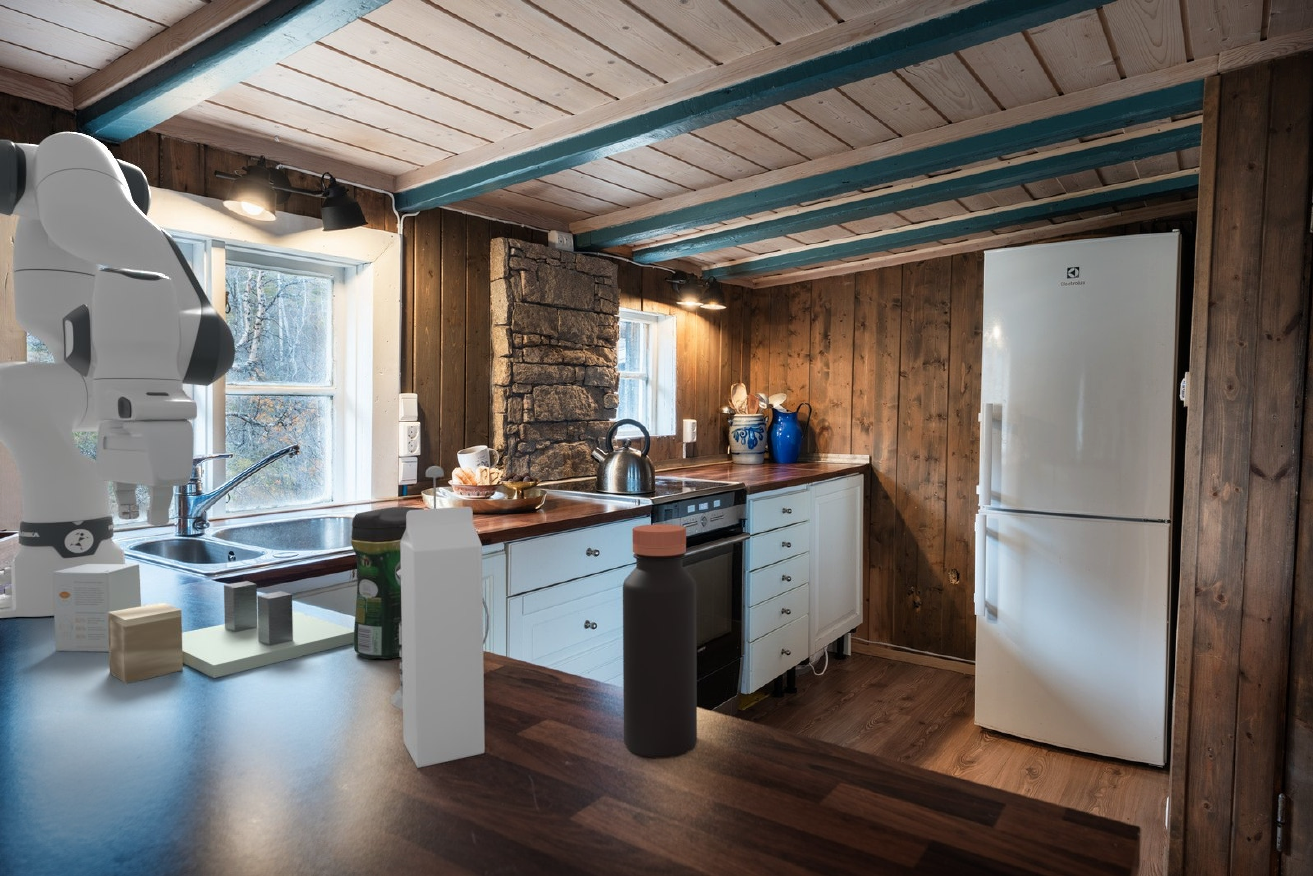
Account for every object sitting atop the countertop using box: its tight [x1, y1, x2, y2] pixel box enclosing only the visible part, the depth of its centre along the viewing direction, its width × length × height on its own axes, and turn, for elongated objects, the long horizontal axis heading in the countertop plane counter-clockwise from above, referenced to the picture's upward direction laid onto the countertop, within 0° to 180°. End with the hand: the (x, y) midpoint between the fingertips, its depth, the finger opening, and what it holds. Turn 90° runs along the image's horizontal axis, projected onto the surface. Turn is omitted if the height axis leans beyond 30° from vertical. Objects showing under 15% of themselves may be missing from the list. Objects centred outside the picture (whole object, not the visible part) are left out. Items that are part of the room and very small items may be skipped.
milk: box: [400, 506, 485, 769], centre depth 70 cm, size 6×6×22 cm
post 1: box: [223, 580, 258, 632], centre depth 105 cm, size 3×3×8 cm
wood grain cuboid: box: [108, 602, 184, 684], centre depth 92 cm, size 6×6×7 cm
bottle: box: [622, 523, 698, 759], centre depth 71 cm, size 7×7×20 cm
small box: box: [52, 563, 142, 653], centre depth 103 cm, size 8×6×10 cm
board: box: [182, 609, 354, 679], centre depth 102 cm, size 18×18×2 cm
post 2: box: [257, 590, 293, 646], centre depth 99 cm, size 3×3×8 cm
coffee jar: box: [350, 506, 424, 660], centre depth 100 cm, size 10×8×19 cm
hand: (143, 521), depth 91 cm, fingers open, 8 cm apart
